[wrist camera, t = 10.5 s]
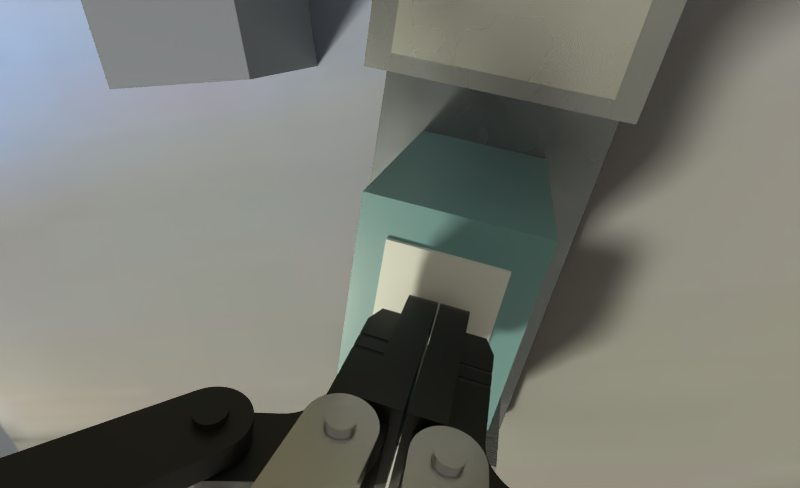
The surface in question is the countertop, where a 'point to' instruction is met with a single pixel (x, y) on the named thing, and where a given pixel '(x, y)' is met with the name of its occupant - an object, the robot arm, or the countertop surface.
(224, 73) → the block
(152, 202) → the countertop surface
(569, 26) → the rail
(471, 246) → the block
